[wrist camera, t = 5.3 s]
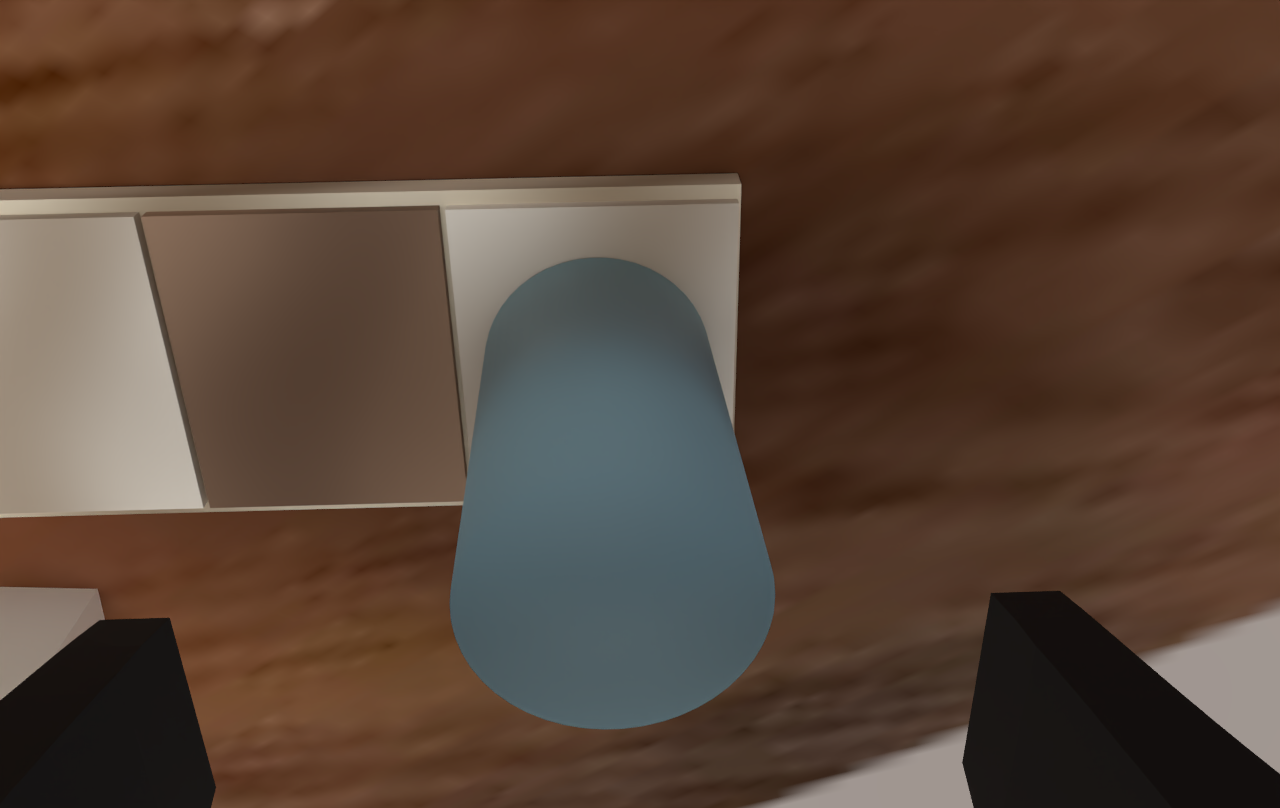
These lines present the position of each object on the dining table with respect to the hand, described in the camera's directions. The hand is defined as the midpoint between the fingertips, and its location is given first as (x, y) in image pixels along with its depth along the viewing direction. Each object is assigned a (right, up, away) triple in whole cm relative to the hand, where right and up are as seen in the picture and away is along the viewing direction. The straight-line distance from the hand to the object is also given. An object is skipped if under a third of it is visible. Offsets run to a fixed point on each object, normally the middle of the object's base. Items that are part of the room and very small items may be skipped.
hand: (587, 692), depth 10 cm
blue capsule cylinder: (0, +3, +6) cm, 7 cm away
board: (-6, +3, +6) cm, 9 cm away
